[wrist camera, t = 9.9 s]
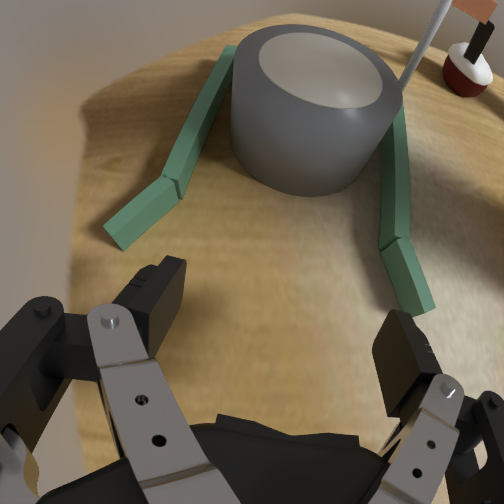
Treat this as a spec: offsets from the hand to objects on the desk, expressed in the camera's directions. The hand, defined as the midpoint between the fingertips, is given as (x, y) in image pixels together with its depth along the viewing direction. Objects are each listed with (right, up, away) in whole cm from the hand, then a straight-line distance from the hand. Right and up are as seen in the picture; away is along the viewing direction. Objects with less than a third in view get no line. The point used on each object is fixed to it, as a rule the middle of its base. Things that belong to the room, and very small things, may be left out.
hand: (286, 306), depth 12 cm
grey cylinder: (+2, +11, +13) cm, 17 cm away
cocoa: (+24, +23, +19) cm, 39 cm away
